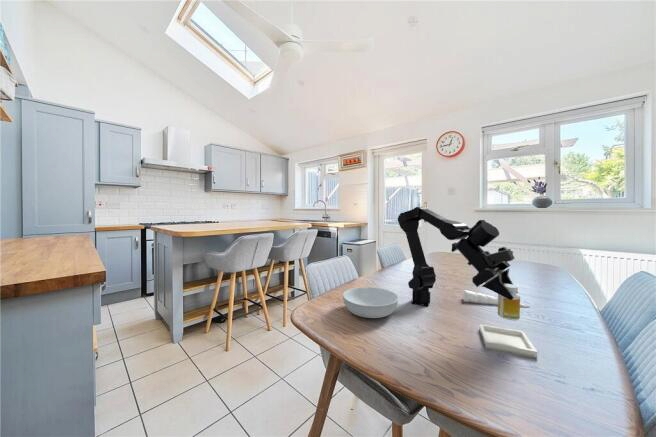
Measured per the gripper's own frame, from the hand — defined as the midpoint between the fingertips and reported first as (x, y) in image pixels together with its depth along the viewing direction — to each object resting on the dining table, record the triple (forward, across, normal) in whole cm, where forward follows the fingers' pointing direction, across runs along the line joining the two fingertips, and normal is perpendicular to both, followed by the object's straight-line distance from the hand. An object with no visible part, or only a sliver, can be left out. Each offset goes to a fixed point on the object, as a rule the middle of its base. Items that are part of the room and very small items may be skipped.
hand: (514, 296), depth 73 cm
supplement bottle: (+4, 0, +6) cm, 7 cm away
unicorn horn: (+1, +29, +19) cm, 34 cm away
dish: (+9, -3, +10) cm, 14 cm away
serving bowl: (-19, -16, +39) cm, 47 cm away
